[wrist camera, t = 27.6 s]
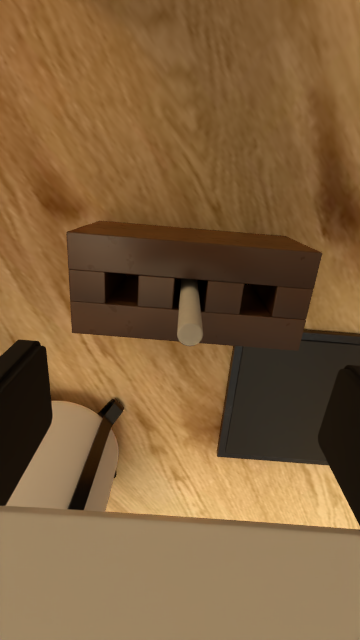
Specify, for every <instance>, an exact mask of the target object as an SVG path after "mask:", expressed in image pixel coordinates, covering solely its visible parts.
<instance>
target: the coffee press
mask: <svg viewBox="0 0 360 640" xmlns="http://www.w3.org/2000/svg"><path fill="white" fill-rule="evenodd" d="M51 403H52V413H53V417H52V423H51V425H50V427H49V429H48V431H47V433H46V435H45V436H44V438H43V440H42V442H41V444H40V445H39V447H38V449H37V451H36V452H35V454H34V456H33V458H32V460H31V461H30V463H29V465H28V467H27V469H26V470H25V472H24V474H23V476H22V477H21V479H20V481H19V483H18V485H17V486H16V488H15V490H14V492H13V494H12V495H11V497H10V499H9V501H8V503H7V504H6V506H17V507H39V508H54V509H70V510H86V511H102V512H105V510H106V506H107V503H108V499H109V495H110V491H111V487H112V483H113V479H114V478H115V477H116V467H117V462H118V457H119V448H118V443H117V439H116V437H115V434H114V432H113V431H112V429H111V427H112V425H113V424H114V422H115V421H116V420H117V418H118V417H119V416H120V415H121V413H122V412H123V410H124V407H123V406H122V405H121V404H120V403H119V402H118V401H117V400H116V399H112V400H111V401H110V402H109V403H108V404H107V405H106V406H105V407H104V408H103V409H102V410H101V411H100V412H99V413H98V414H97V413H95V412H94V411H92V410H90V409H88V408H86V407H84V406H82V405H79V404H76V403H72V402H67V401H51Z"/></svg>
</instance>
